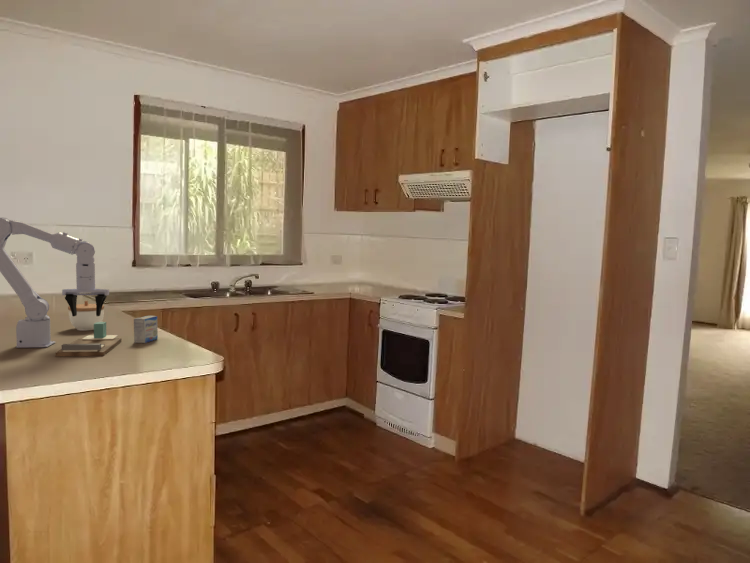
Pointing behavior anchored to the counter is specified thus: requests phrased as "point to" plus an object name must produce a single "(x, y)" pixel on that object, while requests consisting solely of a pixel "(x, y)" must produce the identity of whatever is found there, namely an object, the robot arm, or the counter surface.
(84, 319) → the lidded bowl
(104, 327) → the cream plaque with block
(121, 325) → the counter surface
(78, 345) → the grey flat block
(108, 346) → the board
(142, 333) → the medicine box
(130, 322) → the counter surface
